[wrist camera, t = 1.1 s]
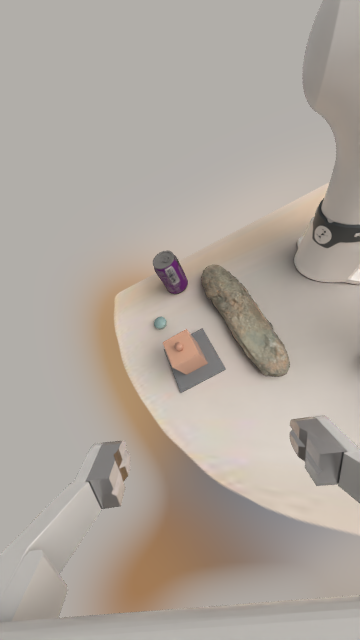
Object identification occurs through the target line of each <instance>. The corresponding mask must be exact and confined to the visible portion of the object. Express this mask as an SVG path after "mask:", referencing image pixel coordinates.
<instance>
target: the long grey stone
mask: <svg viewBox="0 0 360 640" xmlns="http://www.w3.org/2000/svg"><path fill="white" fill-rule="evenodd" d="M201 278H202V279H201V281H202V286H203V287H204V288H205V290H206V295H207V297H208V298H210V299H211V301H212V302H213V305H214V306H215V307H216V309H218V312H219V313H220V314H221V316H222V317H223V318H224V320H225V321H226V323H227V325H228V328H229V329H230V330H231V332H232V335H233V337H234V338H235V340H236V341H237V342H238V344H239V345H240V346H241V347H242V348H243V351H244V352H245V354H246V356H247V357H248V358H250V359H251V361H252V362H253V363H254V364H255V365H256V367H257V368H258V369H260V371H261V373H262V374H263V375H265V376H268V375H269V376H274V377H279V376H283V375H285V374H287V371H288V368H289V367H290V362H289V358H288V354H287V351H286V350H285V347H284V345H283V343H282V342H281V340H280V339H279V338H278V336H277V335H276V333H275V332H274V331H273V328H272V325H271V323H270V322H269V321H268V320H267V319H266V318H265V317H264V316H263V314H262V312H261V311H260V309H259V308H258V306H257V304H256V303H255V302H254V301H253V299H252V298H251V297H250V296H251V295H249V294H248V290H246V288H245V287H244V286H243V285H242V284H241V283H239V281H238V280H237V279H236V278H235V277H234V276H232V275H231V274H230V272H229V271H226V270H225V269H224V268H222V267H221V266H219V265H210V266H208V267H206V269H205V270H204V271H203V275H202V276H201Z"/></svg>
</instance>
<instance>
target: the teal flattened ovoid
mask: <svg viewBox="0 0 360 640" xmlns="http://www.w3.org/2000/svg"><path fill="white" fill-rule="evenodd" d="M154 325H155V327H156V328H158V329H163V328H164V327H165V326H166V320H165V319H164V318H163V317H158V318H157V319H156V320H155V322H154Z"/></svg>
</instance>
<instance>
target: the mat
mask: <svg viewBox="0 0 360 640" xmlns="http://www.w3.org/2000/svg"><path fill="white" fill-rule="evenodd" d="M191 335H192V337H193V338H194V339H195V340H196V342H197V343H198V345H199V347H200V349H201V351H202V353H203V354H204V356H205V358H206V360H207V362H208V364H206V365H204V366H202V367H200V368H199V369H197V370H195V371H193V372H191V373H189V374H187V375H186V374H184V373H182V372H180V371H178V370H176V369H174V368H172V365H171V363H170V360H169V357H168V355H167V352H166V350H165V349H164V351H165V353H166V356H167V358H168V361H169V363H170V366H171V369H172V371H173V374H174V376H175V379H176V381H177V384H178V387H179V389H180V392H181V393H182V392H184V391H186V390H187V389H189V388H191V387H193V386H195V385H197V384H199V383H201V382H203V381H205V380H206V379H208V378H210V377H212V376H214V375H216V374H218V373H220V372H222V371H224V370H225V367H224V365H223V364H222V362H221V360H220V358H219V357H218V355H217V353H216V351H215V350H214V348H213V346H212V344H211V343H210V341H209V339H208V337H207V336H206V334H205V332H204V330H203V329H200V330H198V331H196V332H195V333H193V334H191Z"/></svg>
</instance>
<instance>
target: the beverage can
mask: <svg viewBox="0 0 360 640" xmlns="http://www.w3.org/2000/svg"><path fill="white" fill-rule="evenodd" d="M153 266H154V269H155V272H156V273H157V275H158V276H159V278H160V279H161V281H162V282H163V284H164V285H165V287H166V288H167V289H168V291H169V292H170V293H173V294H176V293H180V292H182V291H183V290H184V289H185V288H186V287H187V284H188V280H187V278H186V276H185V274H184V272H183V270H182V267H181V265H180V263H179V261H178V259H177V257H176V256H175V255H174V254H173V253H172V252H171V251H163V252H160V253H159V254H157V256H156V257H155V258H154V260H153Z"/></svg>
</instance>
